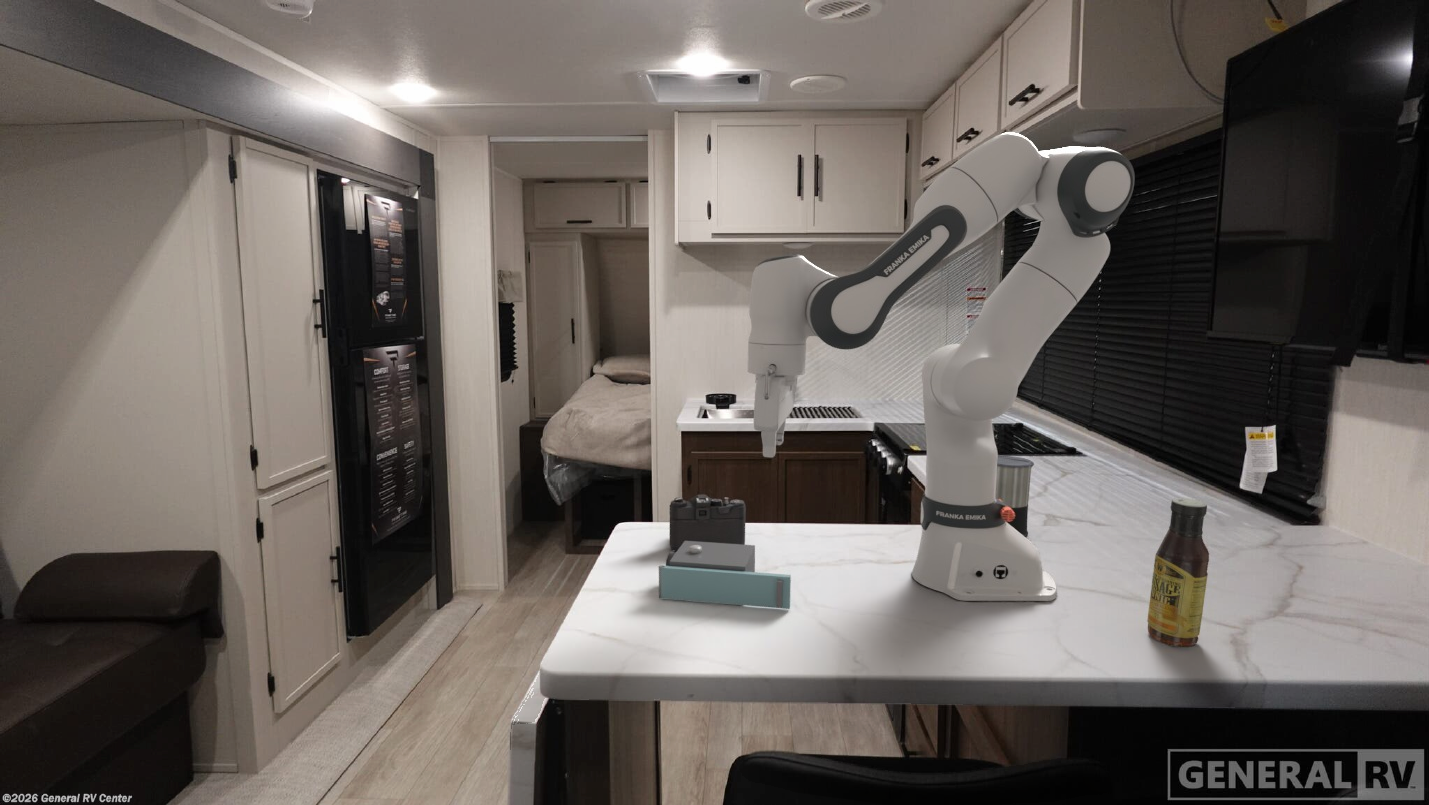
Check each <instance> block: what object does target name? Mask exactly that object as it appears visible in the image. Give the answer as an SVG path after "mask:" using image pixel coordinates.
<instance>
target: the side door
mask: <svg viewBox="0 0 1429 805" xmlns="http://www.w3.org/2000/svg"><path fill="white" fill-rule="evenodd" d="M791 577H792V576H791V574H782V573H770V572H769V573H767V572H756V571H755V572H745V571H731V570H718V569H704V568H691V567H677V566H666V565H661V564H660V565H659V566H658V599H666V600H676V601H687V602H688V601H689V602H698V603H699V602H702V603H711V604H712V603H713V604H726V605H738V606H747V607H749V606H750V607H761V608H771V609H772V608H775V609H783V610H790V609H791V581H792V580H791V579H792V578H791Z"/></svg>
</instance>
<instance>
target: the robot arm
mask: <svg viewBox="0 0 1429 805" xmlns="http://www.w3.org/2000/svg"><path fill="white" fill-rule="evenodd" d="M1134 170H1135V169H1134V167H1133V165H1132V162H1130V160H1129V159H1128V158H1127V157H1126V156H1124V155H1123V154H1121V153H1120V152H1118V151H1116V150H1113V149H1110V148H1106V147H1103V146H1102V147H1101V146H1096V147H1087V146H1086V147H1085V146H1066V147H1062V148H1055V149H1050V150H1045V149H1044V150H1043V149H1042V150H1038V148H1037V147H1036V146H1035V144H1034V143H1033V142H1032V141H1031V140H1029V138H1027V137H1025V136H1024V135H1022V134H1020V133H1016V132H1002V133H999V134H997V135H995V136H994V137H992V138H990V139H988V140H986V141H985V142H983V143H982V144H980V145H977V147H975V148H973V149H972V150H971V151H969V152H968V153H966V154H965V155H964V156H962V157H961V158H959V159H958V160H957V161H956V162H955V163H953V164H952V165H950V167H948V168H947V169H946V170H944V172H943V173H941V174H940V175H939V176H938V177H937V178H936V179H935V180H934V181H932V183H930V185H929V186H928V187H927V188H926V190H924V192H923V193H922V194H921V195H920V197H919V198H918V199H917V200H916V202H915V205H914V207H913V208H914V209H913V220H912V223H911V224H910V226H909V227H908V228H907V230H906V231H905V232H904V233H903V234H902V235H901V236H900V237H899V238H898V239H896V240H895V241H894V242H893V243H892V244H891V245H890V246H888V248H886V249H885V250H884V251H883V252H882V253H881V254H880V255H878V256H877V257H876V258H874V260H873V261H871V262H870V263H869V264H868V265H867V266H866V267H865V268H863V269H861V270H859V271H857V272H854V273H851V274H847V275H844V276H840V277H839V276H838V275H835V274H832V273H829V271H826V270H824V269H822V268H820V267H818V266H816V265H815V264H813V263H812V262H811V261H809V260H808V259H807V258H806V257H805V256H804V255H801V254H797V253H795V254H794V253H792V254H786V255H785V254H784V255H779V256H773V257H769V258H766V259H763V260H762V261H761V262H759V263H758V264H757V265H756V266H755V268H754V270H753V274H752V277H751V283H750V294H749V308H748V309H749V310H748V313H749V319H750V324H751V329H750V333H749V337H748V346H747V348H748V350H747V373H749V374H753V375H755V379H754V380H755V391H754V405H753V428H754V430H755V431H757V432H758V431H759V432H761V433H760V434H761V442H762V456H763V457H764V458H774V457H775V456H776V451H777V446H781V445H782V444H784V434H785V427H786V422H787V421H786V420H787V419H788V417H789V416H790V415H791V413H792V412H793V408H794V404H795V399H796V391H797V385H798V384H797V383H798V377H799V376H803V375H804V374H805V373H806V357H807V356H806V353H807V352H806V351H807V339H808V338H810V337H818V338H819V339H820V340H821V341H822V342H823V343H825V344H826V345H828V346H830V347H832V348H833V349H839V350H855V349H859V348H860V347H863V346H865V345H866V344H868V343H870V342H871V341H872V340H873V339H874V338H875V337H876V336H877V335H878V333H879V331H880V330H881V329H882V327H883V325H884V323H885V322H886V319H887V317H888V315H889V313H890V311H891V309H892V308H893V306H894V305H895V304H896V302H897V301H898V300H899V299H901V297H902V296H904V295H905V294H906V293H907V292H908V291H909V290H910V289H911V288H913V287H914V286H915V285H916V284H917V283H918V282H919V281H920V280H922V278H924V277H925V276H926V275H928V274H929V272H930V271H932V270H933V269H934V268H935V267H936V266H938V264H940V263H941V262H942V261H943V260H945V259H946V258H948V257H950V256H952V255H953V254H955V253H957V252H959V251H960V250H962V249H964V248H966V247H967V246H968V245H971V244H972V243H973V242H975V241H976V240H978V239H980V238H982V236H983V235H985V234H987V232H989V231H990V230H991V229H992V228H994V227H995V226H996V225H997V224H998V223H1000V222H1001V221H1002V220H1003V219H1005V217H1007V215H1008V214H1010V213H1011V212H1013V211H1014V212H1015V213H1017V214H1018V215H1020V216H1022V217H1023V218H1025V219H1029V220H1035V221H1037V220H1038V221H1040V226H1039V231H1038V234H1037V236H1036V238H1035V240H1034V242H1033V243H1032V246H1030V247H1029V249H1028V250H1027V251H1026V252H1025V253H1024V254H1023V256H1022V257H1020V259H1019V260H1018V261H1017V262H1016V264H1014V266H1013V267H1012V268H1011V270H1010V271H1009V272H1008V274H1006V276H1005V277H1004V278H1003V279H1002V281H1001V282H1000V283H999V284H998V285H997V287H996V288H995V289H994V290H993V292H992V293H991V294H990V295H989V296H988V298H986V299H985V301H984V304H983V306H982V309H981V311H980V313H979V315H978V317H977V318H976V320H975V322H974V324H973V325H972V327H971V329H970V330H969V332H968V334H967V335H966V337H965V338H964V339H963V341H962V342H961V343H951V344H947V345H943V346H941V347H940V348H937V349H936V350H935V351H933V352H932V353H931V354H929V355H928V356H927V358H926V359H925V362H924V363H923V366H922V370H921V380H922V396H923V397H922V398H923V399H922V401H923V416H924V417H923V418H924V428H925V429H924V430H925V439H926V461H925V462H926V464H925V485H924V486H925V487H924V489H925V490H924V491H925V492H923V494H922V497H921V498H922V500H921V502H920V526H921V536H920V542H919V546H918V547H919V548H918V551H917V557H916V560H915V563H914V565H913V568H912V571H911V576H912V578H913V579H914V580H915V581H916V582H918V583H919V584H920V585H922V586H925V587H927V588H929V589H932V590H935V591H937V592H941V593H944V594H946V595H948V596H949V597H951V598H953V599H955V600H958V601H965V602H966V601H967V602H968V601H971V602H973V601H975V602H976V601H978V602H980V601H983V602H985V601H986V602H987V601H989V602H995V601H997V602H999V601H1001V602H1006V601H1007V602H1009V601H1010V602H1013V601H1016V602H1024V601H1025V602H1035V601H1036V602H1042V601H1043V602H1049V601H1050V602H1051V601H1053V600H1054V599H1056V598H1057V595H1058V588H1057V584H1056V582H1055V580H1054V578H1053V577H1052V575H1050V574H1049V573H1048V572H1046V570H1044V569H1043V565H1042V560H1041V556H1040V553H1039V550H1038V549H1037V547H1036V546H1035V545H1034V543H1033V542H1032V541H1030V540H1029V539H1028V538H1027V536H1025V537H1024V536H1023V535H1022V534H1021V533H1019V532H1018V531H1017V530H1016V529H1015V528H1013V527H1012V526H1011V525H1010V524H1008V523H1007V522H1010V521H1013V520H1012V519H1015V515H1014V514H1015V513H1014V512H1013V510H1012V509H1011V508H1010V507H1008V506H1007V504H1005V503H1004V502H1002V501H1001V500H1000V499H997V498H995V496H996V478H997V460H998V455H999V453H998V448H997V445H996V441H995V436H994V429H993V420H994V419H997V418H999V417H1000V416H1002V415H1004V414H1005V413H1007V411H1009V410H1010V408H1011V407H1012V406H1013V405H1014V402H1015V401H1016V398H1017V395H1018V388H1019V386H1020V384H1021V382H1022V381H1023V380H1024V378H1025V377H1026V375H1027V373H1028V371H1029V369H1030V367H1031V366H1032V364H1033V362H1034V361H1035V358H1036V356H1037V354H1038V353H1039V352H1040V350H1041V349H1042V347H1043V346H1044V344H1045V343H1046V342H1047V340H1048V339H1049V337H1050V336H1051V335H1052V334H1053V333H1054V331H1055V330H1056V329H1058V327H1059V326H1060V324H1061V323H1062V322H1063V321H1064V320H1065V319H1066V317H1067V316H1068V315H1069V313H1070V312H1072V310H1073V309H1074V308H1075V307H1076V305H1077V304H1078V303H1079V302H1080V300H1081V299H1082V298H1083V297H1084V295H1085V294H1086V293H1087V291H1088V290H1089V289H1090V287H1091V286H1092V284H1093V283H1094V281H1095V280H1096V279H1097V278H1098V275H1099V274H1100V272H1101V271H1102V269H1103V267H1104V265H1105V264H1106V261H1107V260H1108V258H1109V256H1110V253H1111V243H1110V240H1109V237H1108V235H1107V234H1106V232H1107V233H1108V231H1110V230H1111V229H1113V227H1115V226H1116V225H1117V224H1118V222H1119V218H1120V216H1121V214H1122V213H1123V212H1125V209H1126V207H1127V206H1128V204H1129V201H1130V200H1131V198H1132V194H1133V191H1134V188H1135V187H1134V186H1135V180H1136V179H1135V177H1136V176H1135V171H1134ZM1006 521H1007V522H1006Z"/></svg>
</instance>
